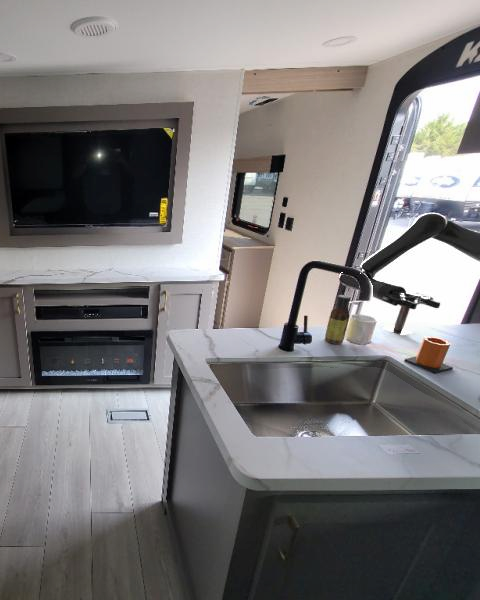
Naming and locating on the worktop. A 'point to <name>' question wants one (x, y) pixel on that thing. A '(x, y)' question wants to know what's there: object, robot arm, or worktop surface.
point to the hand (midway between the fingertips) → (427, 306)
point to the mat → (430, 369)
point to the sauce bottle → (338, 321)
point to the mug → (360, 329)
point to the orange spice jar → (432, 352)
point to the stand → (400, 322)
